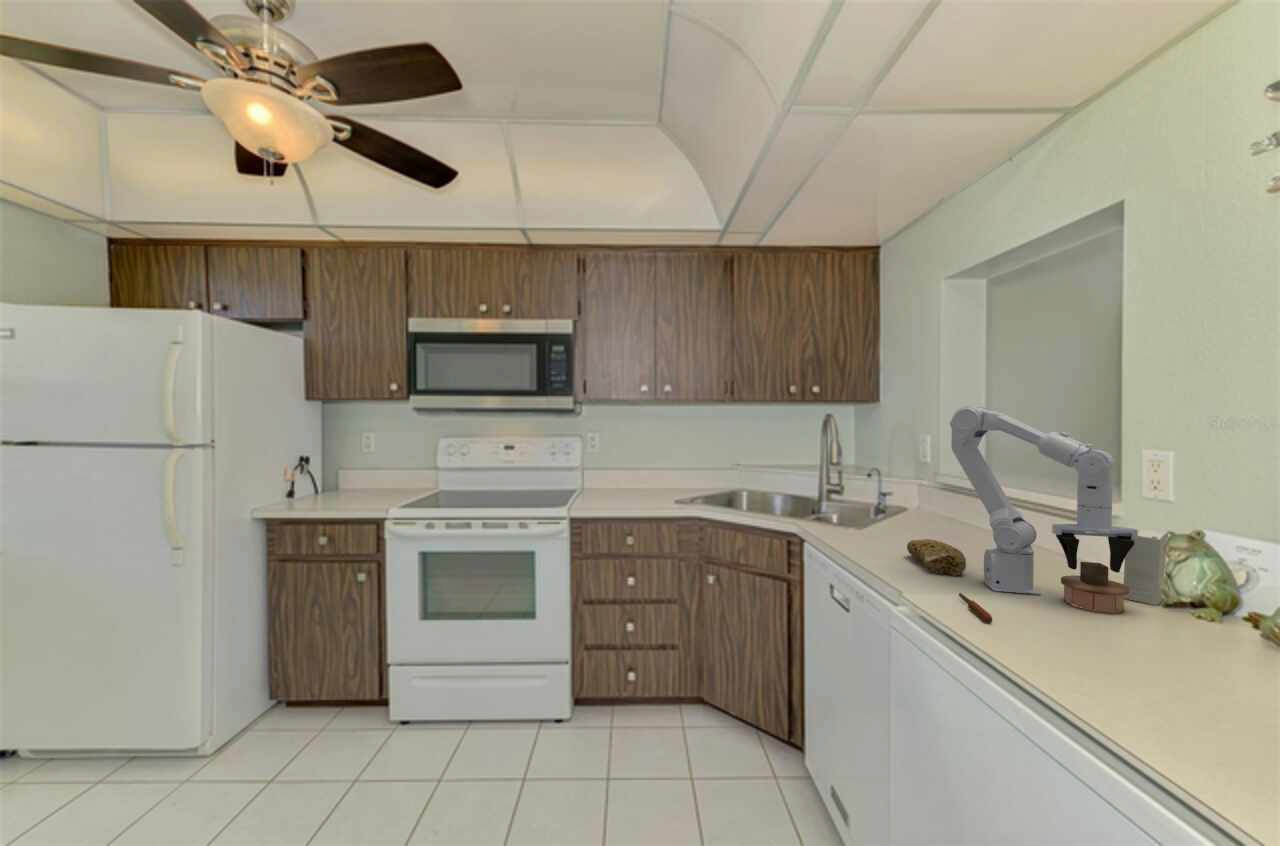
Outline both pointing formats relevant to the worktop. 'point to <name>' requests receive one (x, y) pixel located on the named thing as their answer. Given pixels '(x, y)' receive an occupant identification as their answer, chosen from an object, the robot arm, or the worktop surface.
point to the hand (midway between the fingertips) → (1093, 569)
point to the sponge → (938, 556)
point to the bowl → (1094, 600)
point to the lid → (1094, 580)
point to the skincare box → (1145, 567)
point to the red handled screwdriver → (977, 609)
